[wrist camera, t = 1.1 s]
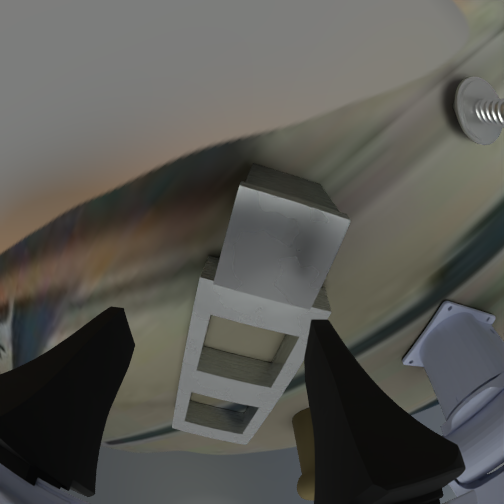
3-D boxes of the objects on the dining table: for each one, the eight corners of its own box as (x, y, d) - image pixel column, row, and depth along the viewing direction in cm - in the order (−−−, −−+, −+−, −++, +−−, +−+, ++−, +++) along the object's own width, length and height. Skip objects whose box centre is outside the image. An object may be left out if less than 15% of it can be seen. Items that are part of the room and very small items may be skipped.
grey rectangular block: (322, 182, 18) (350, 220, 11) (298, 246, 20) (310, 309, 14) (251, 160, 18) (239, 185, 11) (232, 227, 20) (213, 284, 13)
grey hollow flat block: (325, 287, 21) (331, 312, 19) (248, 425, 31) (246, 444, 28) (209, 255, 21) (199, 277, 18) (177, 408, 30) (171, 427, 28)
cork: (303, 433, 32) (305, 506, 22) (283, 415, 30) (282, 498, 20) (347, 420, 30) (357, 496, 20) (332, 400, 28) (342, 487, 18)
